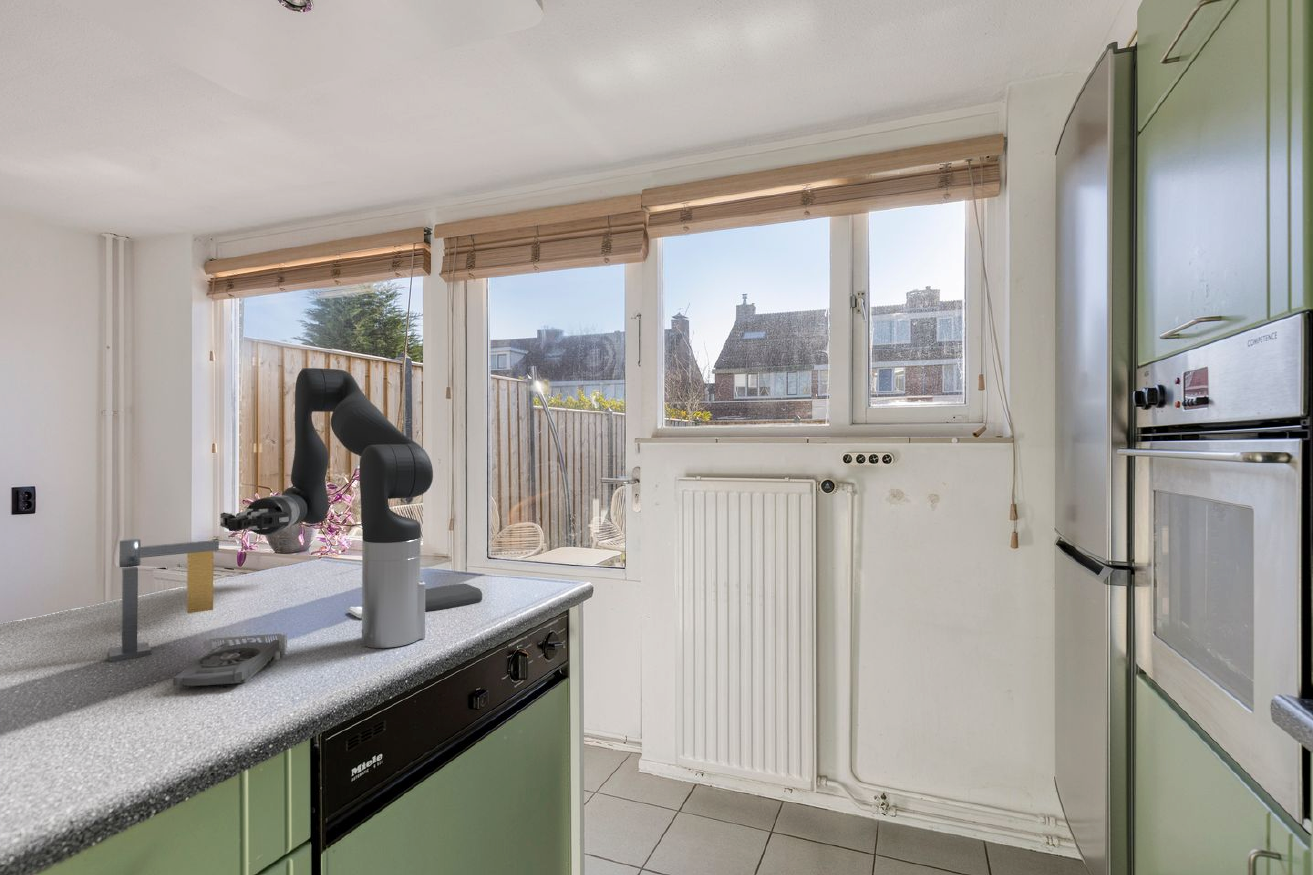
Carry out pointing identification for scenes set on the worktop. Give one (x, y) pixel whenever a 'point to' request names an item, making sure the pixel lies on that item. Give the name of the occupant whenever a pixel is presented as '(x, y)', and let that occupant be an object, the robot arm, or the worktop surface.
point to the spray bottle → (443, 598)
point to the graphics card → (233, 660)
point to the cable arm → (196, 566)
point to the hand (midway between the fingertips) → (233, 525)
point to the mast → (129, 620)
